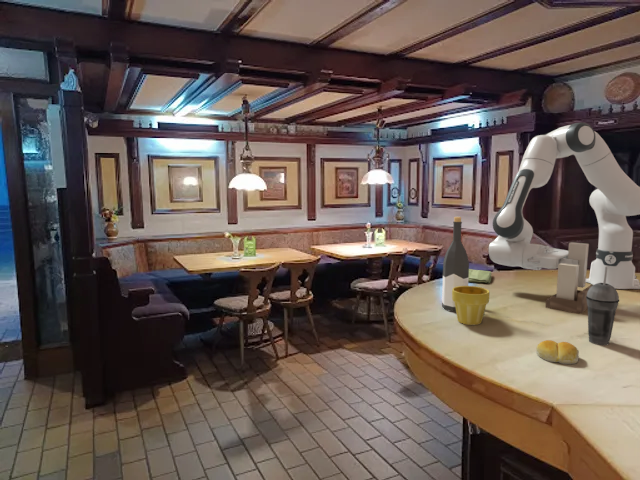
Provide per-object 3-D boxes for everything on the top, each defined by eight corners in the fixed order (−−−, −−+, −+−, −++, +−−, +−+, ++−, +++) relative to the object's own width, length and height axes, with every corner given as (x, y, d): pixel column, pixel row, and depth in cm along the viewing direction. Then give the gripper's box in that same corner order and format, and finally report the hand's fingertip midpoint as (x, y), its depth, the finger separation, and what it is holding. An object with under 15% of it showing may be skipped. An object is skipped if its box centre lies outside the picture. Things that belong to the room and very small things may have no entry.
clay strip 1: (558, 305, 144) (561, 263, 142) (575, 308, 141) (579, 265, 139) (555, 307, 142) (558, 264, 140) (573, 310, 139) (576, 266, 137)
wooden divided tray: (560, 301, 154) (562, 280, 153) (594, 307, 148) (595, 285, 147) (545, 311, 143) (546, 288, 142) (580, 318, 136) (582, 294, 135)
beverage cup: (611, 338, 119) (617, 264, 116) (619, 348, 112) (626, 269, 109) (579, 335, 121) (585, 262, 118) (586, 345, 114) (592, 268, 111)
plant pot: (469, 329, 126) (471, 295, 125) (443, 319, 136) (444, 288, 134) (495, 324, 131) (497, 291, 130) (469, 314, 140) (470, 284, 139)
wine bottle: (468, 306, 149) (472, 216, 145) (465, 313, 142) (469, 218, 138) (443, 303, 153) (446, 215, 149) (439, 310, 145) (442, 217, 141)
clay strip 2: (568, 283, 151) (571, 242, 149) (585, 286, 147) (588, 243, 145) (565, 285, 149) (569, 243, 147) (582, 287, 145) (586, 244, 143)
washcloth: (456, 282, 186) (456, 275, 186) (462, 274, 202) (462, 267, 201) (490, 285, 181) (490, 277, 180) (493, 277, 196) (493, 269, 196)
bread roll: (537, 349, 112) (538, 333, 112) (579, 356, 108) (580, 340, 107) (533, 360, 106) (534, 343, 105) (577, 368, 101) (578, 351, 100)
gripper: (525, 251, 148) (571, 256, 138) (546, 244, 163) (589, 249, 153) (524, 270, 149) (570, 276, 139) (544, 262, 163) (587, 267, 154)
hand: (580, 262), depth 146 cm, fingers closed on clay strip 2, 3 cm apart
